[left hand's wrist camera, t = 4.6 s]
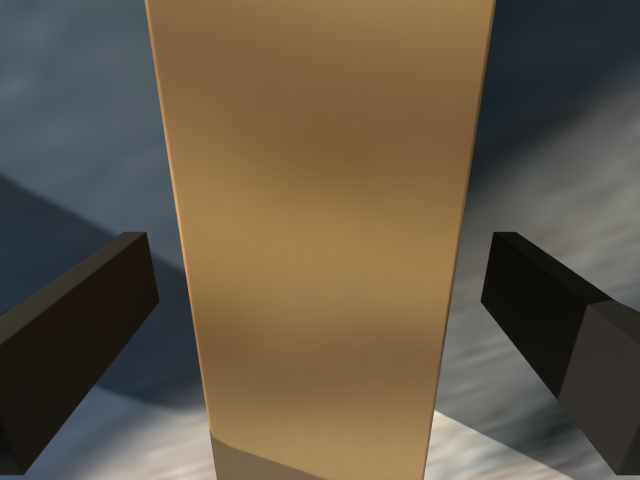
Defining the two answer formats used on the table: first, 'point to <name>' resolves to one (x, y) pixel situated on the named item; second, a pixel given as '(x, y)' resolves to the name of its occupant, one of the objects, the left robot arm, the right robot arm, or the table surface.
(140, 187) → the table surface
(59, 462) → the table surface
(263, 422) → the beam
